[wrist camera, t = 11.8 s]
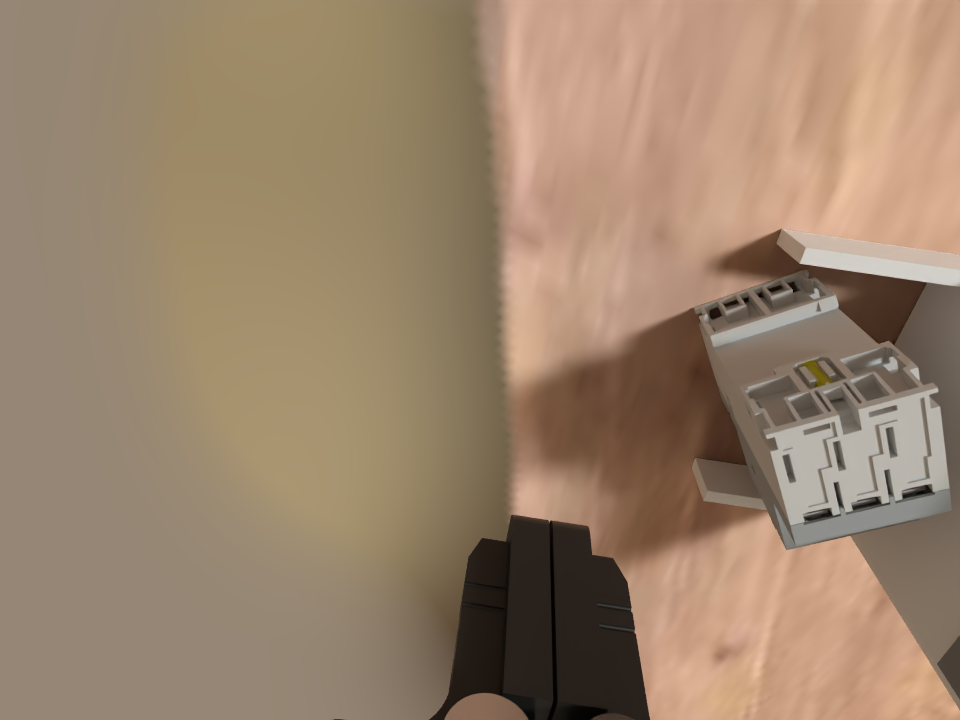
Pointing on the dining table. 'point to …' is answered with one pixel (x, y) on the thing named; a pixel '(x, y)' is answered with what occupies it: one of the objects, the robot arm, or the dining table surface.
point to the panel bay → (956, 372)
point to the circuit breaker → (825, 414)
